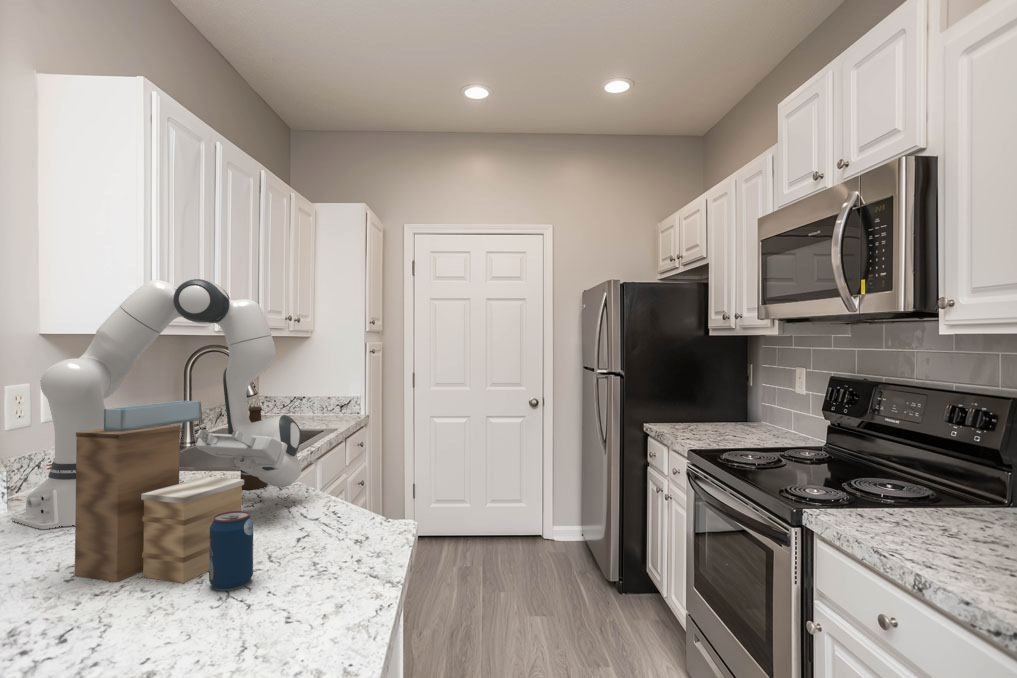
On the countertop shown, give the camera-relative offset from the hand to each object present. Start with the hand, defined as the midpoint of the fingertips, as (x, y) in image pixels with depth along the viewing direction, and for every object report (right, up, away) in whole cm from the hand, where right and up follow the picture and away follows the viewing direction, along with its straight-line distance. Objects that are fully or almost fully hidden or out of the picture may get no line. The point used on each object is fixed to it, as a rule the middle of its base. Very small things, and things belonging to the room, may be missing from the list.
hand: (217, 433), depth 130 cm
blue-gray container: (-4, +4, -15) cm, 17 cm away
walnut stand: (-6, -22, -21) cm, 31 cm away
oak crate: (+7, -22, -21) cm, 31 cm away
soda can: (+18, -22, -30) cm, 41 cm away
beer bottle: (-10, -23, +41) cm, 48 cm away
